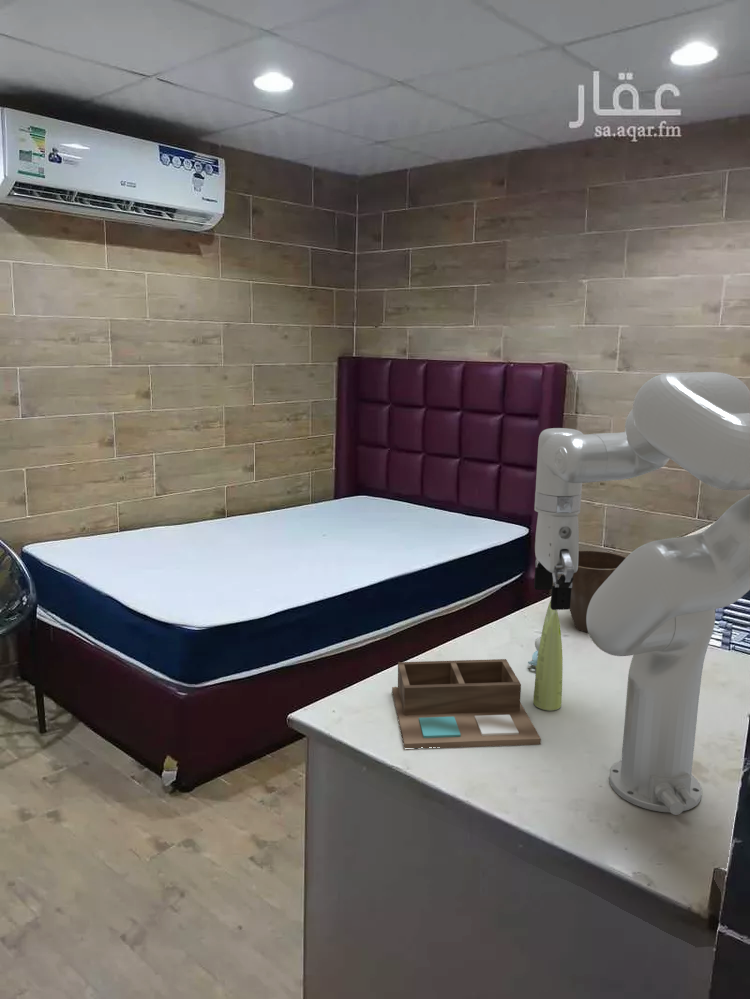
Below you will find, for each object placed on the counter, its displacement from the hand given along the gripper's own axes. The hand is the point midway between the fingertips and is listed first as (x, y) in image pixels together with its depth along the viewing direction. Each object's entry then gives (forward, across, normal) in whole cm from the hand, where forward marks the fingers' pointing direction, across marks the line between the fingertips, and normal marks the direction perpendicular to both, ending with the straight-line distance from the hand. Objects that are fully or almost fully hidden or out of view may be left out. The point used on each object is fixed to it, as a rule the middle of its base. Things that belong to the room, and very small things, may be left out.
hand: (551, 598), depth 132 cm
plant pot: (+20, +35, -21) cm, 46 cm away
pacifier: (+20, +15, -5) cm, 26 cm away
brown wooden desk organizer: (+20, -4, +16) cm, 26 cm away
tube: (+20, -1, 0) cm, 20 cm away
